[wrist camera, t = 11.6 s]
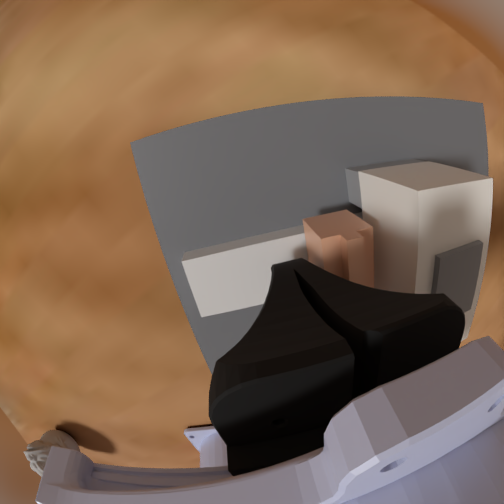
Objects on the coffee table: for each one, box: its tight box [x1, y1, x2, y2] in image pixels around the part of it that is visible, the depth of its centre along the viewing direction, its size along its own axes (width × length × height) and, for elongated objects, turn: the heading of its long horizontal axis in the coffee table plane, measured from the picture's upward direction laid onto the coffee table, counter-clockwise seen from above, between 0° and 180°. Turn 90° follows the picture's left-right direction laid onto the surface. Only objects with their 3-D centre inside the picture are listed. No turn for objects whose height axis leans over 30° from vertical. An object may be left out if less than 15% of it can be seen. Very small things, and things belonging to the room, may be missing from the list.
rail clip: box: [302, 209, 374, 288], centre depth 11 cm, size 4×2×3 cm, turn 12°
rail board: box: [130, 97, 488, 375], centre depth 13 cm, size 14×20×3 cm
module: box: [345, 159, 493, 341], centre depth 11 cm, size 8×4×6 cm, turn 12°
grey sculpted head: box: [24, 430, 80, 477], centre depth 17 cm, size 6×7×7 cm
